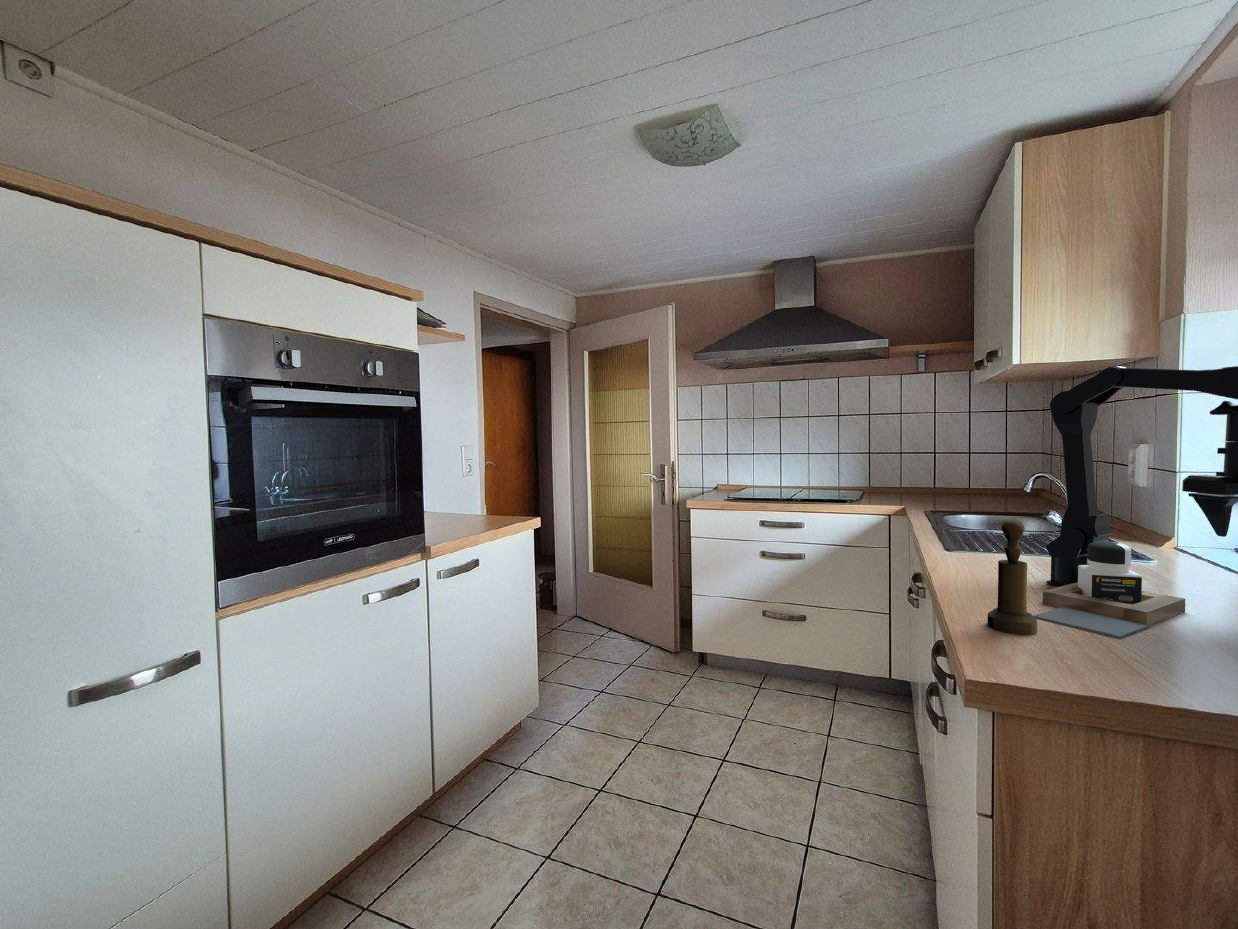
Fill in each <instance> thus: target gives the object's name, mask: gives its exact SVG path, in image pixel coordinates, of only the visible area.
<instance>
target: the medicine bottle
mask: <svg viewBox="0 0 1238 929" xmlns="http://www.w3.org/2000/svg"><path fill="white" fill-rule="evenodd" d="M1087 563H1088V564H1090V565H1079V566H1078V587H1079V588H1081V589H1082V595H1085V596H1090V597H1095V598H1100V599H1105V600H1110V601H1115V602H1120V603H1126V604H1131V605H1133V604H1136V603H1139V602H1141V600H1142V591H1143V590H1142V589H1143V588H1142V586H1143V577H1142V575H1141V574H1139V573H1137V572H1134V571H1133V570H1130V569H1131V568H1132V548H1131V547H1130V546H1128V545H1126V544H1124V543H1120V542H1110V541H1107V542H1093V543H1090V544H1089V545H1088V555H1087Z"/></svg>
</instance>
